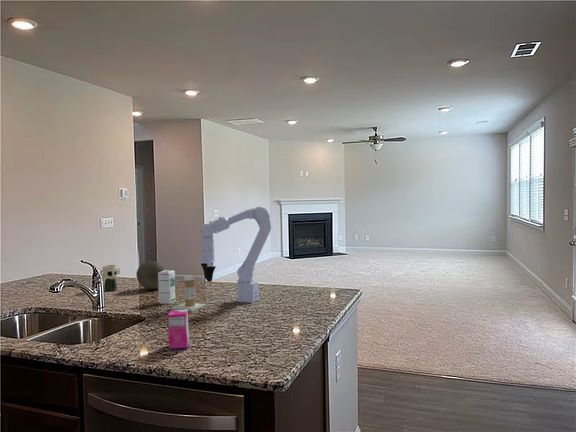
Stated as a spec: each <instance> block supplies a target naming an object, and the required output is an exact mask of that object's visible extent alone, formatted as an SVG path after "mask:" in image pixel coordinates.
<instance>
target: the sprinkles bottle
mask: <svg viewBox="0 0 576 432" xmlns="http://www.w3.org/2000/svg"><path fill="white" fill-rule="evenodd" d="M195 279H196V278H195V275H194V274H186V275H184V276H183V280H184V303H185V306H187V307H191V306H195V303H196V289H195V288H196V287H195Z"/></svg>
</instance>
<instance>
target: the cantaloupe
mask: <svg viewBox="0 0 576 432" xmlns="http://www.w3.org/2000/svg"><path fill="white" fill-rule="evenodd" d="M164 270H165V269H164V266H162V264H161V263H160V262H159V261H158V262H157V261H155V260H149V261H145V262H142V263H141V264H140V265H139V266H138V268H137V270H136V275H135V276H136V279H137V281H138V283H139V284H140V285H141V287H143V288H145V289H146V290H147V289H148V290H156V289H159V283H158V273H159V272H162V271H164Z"/></svg>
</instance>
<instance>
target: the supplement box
mask: <svg viewBox="0 0 576 432" xmlns="http://www.w3.org/2000/svg"><path fill="white" fill-rule="evenodd" d="M188 312H189V311H188V310H172V309H170V311H169V312H168V314H167V328H168V329H167V330H168V331H167V333H168V334H167V335H168V350H169V351H178V350H188V348H189V345H190V333H189V315H188Z"/></svg>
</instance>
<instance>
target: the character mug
mask: <svg viewBox="0 0 576 432" xmlns="http://www.w3.org/2000/svg"><path fill="white" fill-rule="evenodd" d="M120 272H121V269H120V267H118V265H117V264H106V265H103V266H102V270H100V271H99V275H100V274H101V276H102V277H101V278H103V279H105V280H104V286H103V289H104V290H105V291H108V290H109V291H114V290H117V289H118V286H117V281H116V278H117V277H118V275H119V274H121V273H120ZM113 289H114V290H113Z"/></svg>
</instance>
